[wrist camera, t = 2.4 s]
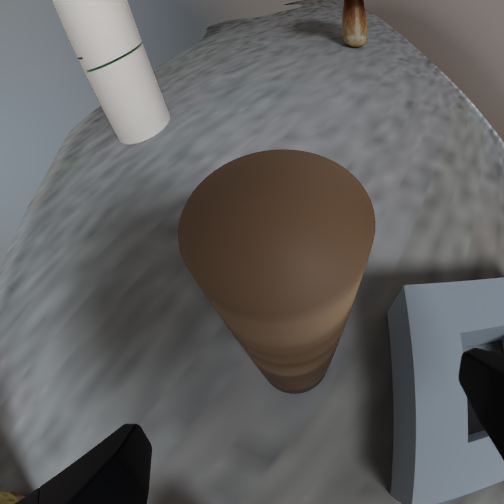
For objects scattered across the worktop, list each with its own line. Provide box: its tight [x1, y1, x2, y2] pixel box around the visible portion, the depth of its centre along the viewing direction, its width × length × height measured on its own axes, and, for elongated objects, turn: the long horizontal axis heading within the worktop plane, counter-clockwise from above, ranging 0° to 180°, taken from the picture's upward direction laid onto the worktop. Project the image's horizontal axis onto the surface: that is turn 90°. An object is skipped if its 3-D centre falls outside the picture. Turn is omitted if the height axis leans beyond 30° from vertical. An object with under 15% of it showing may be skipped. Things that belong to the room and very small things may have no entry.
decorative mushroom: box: [342, 0, 367, 47], centre depth 35 cm, size 11×11×15 cm
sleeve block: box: [387, 277, 504, 504], centre depth 13 cm, size 12×12×4 cm
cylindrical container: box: [52, 0, 170, 145], centre depth 24 cm, size 7×7×25 cm
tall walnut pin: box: [178, 150, 375, 394], centre depth 12 cm, size 4×4×14 cm
